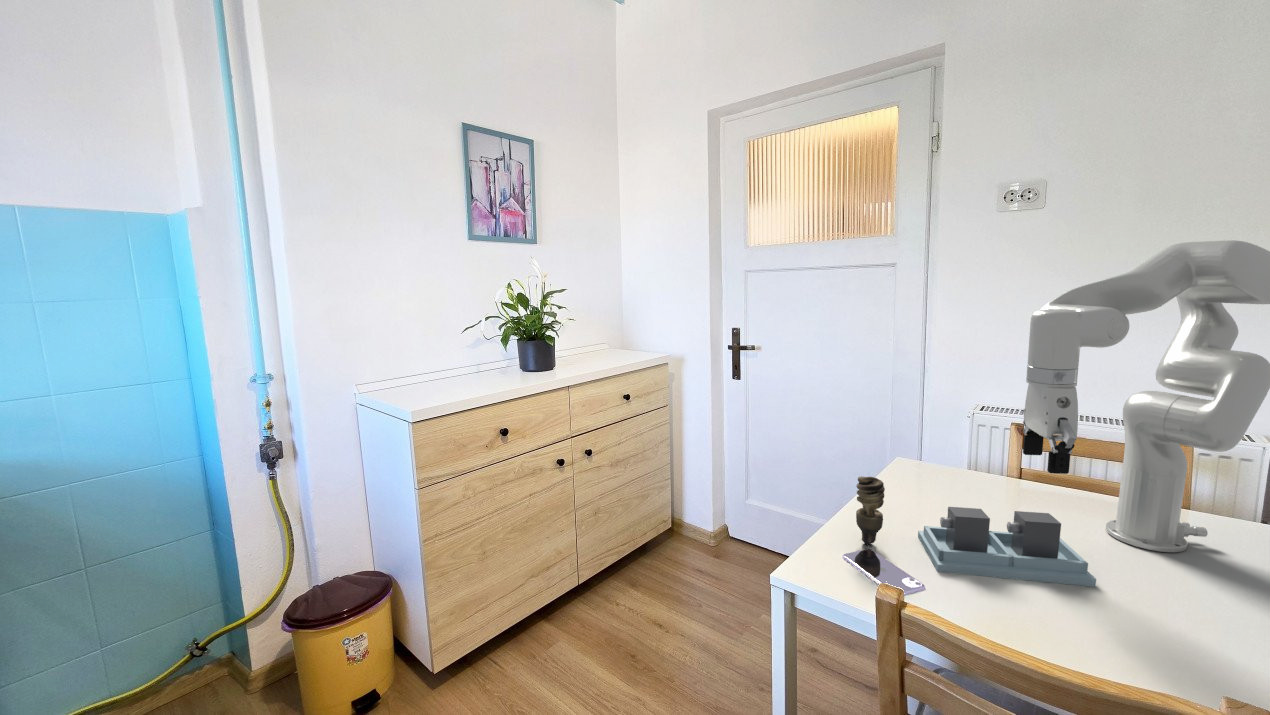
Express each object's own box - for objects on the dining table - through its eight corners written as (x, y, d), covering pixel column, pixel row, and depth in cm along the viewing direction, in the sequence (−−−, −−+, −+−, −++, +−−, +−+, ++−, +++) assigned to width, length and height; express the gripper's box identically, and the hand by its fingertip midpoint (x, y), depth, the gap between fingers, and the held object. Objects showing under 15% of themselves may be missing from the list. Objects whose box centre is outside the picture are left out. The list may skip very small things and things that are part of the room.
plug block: (1045, 550, 108) (1048, 513, 106) (1057, 562, 103) (1061, 523, 102) (1001, 547, 109) (1004, 510, 108) (1011, 559, 105) (1015, 520, 104)
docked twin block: (978, 545, 110) (981, 508, 109) (986, 557, 106) (989, 518, 105) (936, 542, 112) (939, 506, 111) (943, 553, 108) (946, 515, 107)
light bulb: (849, 538, 118) (851, 472, 115) (873, 536, 118) (876, 471, 116) (862, 551, 112) (865, 482, 110) (887, 549, 113) (890, 481, 110)
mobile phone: (870, 547, 113) (928, 585, 99) (870, 551, 113) (928, 590, 99) (839, 553, 111) (895, 594, 96) (839, 557, 111) (894, 599, 97)
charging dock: (1055, 548, 111) (1057, 532, 111) (1095, 586, 98) (1097, 568, 97) (917, 537, 117) (918, 522, 117) (937, 571, 104) (938, 554, 103)
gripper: (1103, 386, 91) (1093, 482, 94) (1051, 367, 108) (1044, 449, 111) (1052, 386, 93) (1044, 480, 96) (1008, 367, 110) (1003, 447, 112)
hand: (1044, 463), depth 103 cm, fingers open, 9 cm apart
